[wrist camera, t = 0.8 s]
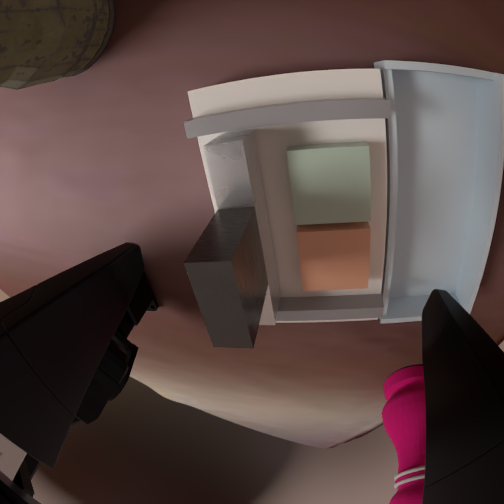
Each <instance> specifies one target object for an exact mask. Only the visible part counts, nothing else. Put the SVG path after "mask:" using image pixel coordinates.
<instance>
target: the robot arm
mask: <svg viewBox="0 0 504 504" xmlns="http://www.w3.org/2000/svg"><path fill="white" fill-rule="evenodd" d="M158 307H159V306H158V303H157V301H156V299H155V296H154V294H153V292H152V289H151V287H150V285H149V282H148V280H147V278H146V275H145V273H144V263H143V259H142V254H141V249H140V246H139V245H138V244H135V243H129V242H127V243H124V244H122V245H120V246H117V247H115V248H113V249H111V250H108V251H106V252H104V253H102V254H100V255H97V256H95V257H93V258H91V259H89V260H87V261H84V262H82V263H80V264H78V265H76V266H74V267H72V268H70V269H67V270H65V271H63V272H61V273H59V274H57V275H55V276H53V277H51V278H49V279H47V280H45V281H43V282H41V283H39V284H38V285H35V286H33V287H31V288H29V289H27V290H25V291H23V292H21V293H19V294H17V295H15V296H13V297H11V298H8V299H6V300H5V301H2V302H0V504H41V503H39V502H38V501H36V500H35V499H34V498H33V495H34V490H33V487H32V483H31V479H32V477H33V475H34V474H35V472H36V470H37V469H38V467H39V465H40V464H41V462H42V463H43V464H45V465H46V466H48V467H50V468H51V469H53V468H54V466H55V464H56V461H57V459H58V456H59V453H60V450H61V448H62V446H63V443H64V441H65V438H66V436H67V433H68V431H69V429H70V426H72V425H75V424H77V423H80V422H84V423H86V424H89V423H91V422H93V421H94V420H96V419H97V418H98V417H99V415H100V414H101V412H102V410H103V408H104V407H105V405H106V403H107V402H109V401H111V400H113V399H114V398H115V397H116V396H117V395H118V394H119V393H120V392H121V391H122V389H123V388H124V386H125V384H126V383H127V381H128V378H129V375H130V372H131V369H132V366H133V363H134V360H135V357H136V354H137V351H138V347H137V346H136V345H134V344H132V343H131V342H130V341H129V340H127V337H128V335H129V334H130V332H131V330H132V329H133V327H134V325H135V326H137V325H138V323H139V322H140V320H141V318H142V317H143V315H144V313H145V312H146V310H147V311H156V310H157V309H158ZM422 360H423V373H424V387H425V407H426V459H425V478H424V487H425V488H424V489H423V499H422V504H504V352H503V351H502V350H501V349H500V348H499V346H498V345H497V344H496V343H495V342H494V341H493V340H492V338H491V337H490V336H489V335H488V334H487V333H486V332H485V331H484V329H483V328H482V327H481V326H480V325H479V324H478V323H477V322H476V321H475V320H474V319H473V318H472V317H471V315H470V314H469V313H468V312H467V311H466V310H465V309H464V308H463V307H462V306H461V305H460V304H459V303H458V302H457V301H456V300H455V299H454V298H453V297H452V296H451V295H450V294H449V293H448V292H447V291H446V290H441V289H434V290H433V291H432V292H431V294H430V296H429V298H428V300H427V302H426V304H425V306H424V308H423V311H422Z"/></svg>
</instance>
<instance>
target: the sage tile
mask: <svg viewBox="0 0 504 504" xmlns="http://www.w3.org/2000/svg"><path fill="white" fill-rule="evenodd" d="M286 154H287V162H288V169H289V176H290V184H291V192H292V200H293V208H294V216H295V225H307V224H326V223H346V222H368V221H371V179H370V153H369V145H368V144H367V143H366V141H365V142H340V143H323V144H309V145H297V146H288V147H287V150H286Z"/></svg>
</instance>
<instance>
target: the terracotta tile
mask: <svg viewBox="0 0 504 504" xmlns="http://www.w3.org/2000/svg"><path fill="white" fill-rule="evenodd" d="M296 234H297V243H298V252H299V262H300V272H301V282H302V291H316V290H342V289H363V288H368V279H369V261H370V235H371V228H370V225H369V222H346V223H326V224H307V225H297V232H296Z"/></svg>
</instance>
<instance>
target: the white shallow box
mask: <svg viewBox="0 0 504 504" xmlns="http://www.w3.org/2000/svg"><path fill="white" fill-rule="evenodd" d="M188 96H189V101H190V106H191V110H192V115H193V118H192V119H189V120H187V121H185V122H184V126H185V131H186V135H187V139H188V138H193V137H198V142H199V146H200V151H201V155H202V160H203V164H204V168H205V173H206V177H207V181H208V185H209V190H210V194H211V198H212V202H213V206H214V211H215V213H216V212H217V210H218V208H217V204H216V200H215V195H214V191H213V187H212V182H211V178H210V174H209V169H208V165H207V160H206V156H205V152H204V147H203V146H204V145H206V144H207V143H209V142H210V141H212V140H213V139H214V138H216V137H217V136H219V135H221V134H227V133H234V132H240V131H247V130H254V135H255V140H256V146H257V152H258V158H259V163H260V169H261V175H262V181H263V187H264V193H265V199H266V205H267V211H268V218H269V224H270V230H271V236H272V243H273V249H274V256H275V262H276V269H277V275H278V282H279V289H280V302H279V308H278V314H277V319H276V323H296V322H337V321H360V320H378V318H381V317H383V310H384V305H383V300H382V296H381V289H382V279H383V269H384V256H385V242H386V221H387V146H386V126H385V118H391V109H390V100H389V99H386V98H383V90H382V81H381V72H380V69H336V70H319V71H307V72H296V73H287V74H279V75H271V76H264V77H257V78H251V79H245V80H239V81H234V82H228V83H223V84H218V85H214V86H209V87H204V88H200V89H196V90H192V91H188ZM365 141H366V143H367V144H368V145H369V153H370V179H371V221H368V222H369V225H370V228H371V235H370V261H369V279H368V288H363V289H342V290H316V291H302V282H301V272H300V262H299V252H298V243H297V234H296V232H297V225H295V216H294V208H293V200H292V192H291V184H290V176H289V169H288V162H287V154H286V150H287V147H288V146H297V145H309V144H323V143H340V142H365Z"/></svg>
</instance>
